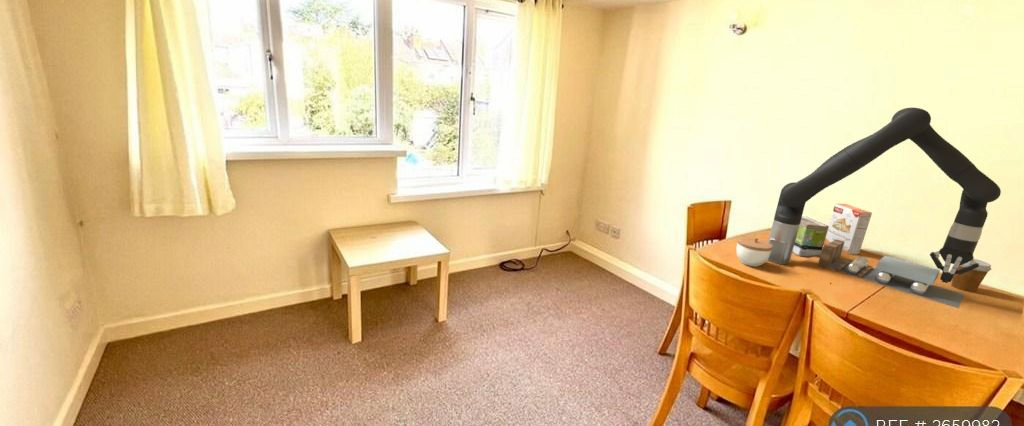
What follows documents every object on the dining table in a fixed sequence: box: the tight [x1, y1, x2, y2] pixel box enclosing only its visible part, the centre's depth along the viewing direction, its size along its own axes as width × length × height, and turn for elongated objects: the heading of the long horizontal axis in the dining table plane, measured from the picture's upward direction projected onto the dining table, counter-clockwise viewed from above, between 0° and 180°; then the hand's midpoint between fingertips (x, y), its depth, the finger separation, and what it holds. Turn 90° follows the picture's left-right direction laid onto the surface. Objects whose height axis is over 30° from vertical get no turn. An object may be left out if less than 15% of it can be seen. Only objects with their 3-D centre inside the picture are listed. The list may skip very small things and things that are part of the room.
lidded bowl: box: [735, 236, 773, 268], centre depth 172 cm, size 13×13×11 cm
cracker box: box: [823, 203, 873, 256], centre depth 193 cm, size 14×6×21 cm, turn 5°
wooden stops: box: [817, 239, 873, 279], centre depth 172 cm, size 18×14×9 cm
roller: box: [845, 256, 869, 276], centre depth 170 cm, size 16×4×4 cm, turn 129°
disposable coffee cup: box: [950, 258, 992, 293], centre depth 158 cm, size 10×10×12 cm
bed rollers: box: [875, 271, 929, 296], centre depth 160 cm, size 16×14×4 cm
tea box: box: [792, 215, 829, 258], centre depth 190 cm, size 15×10×15 cm
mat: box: [827, 258, 965, 309], centre depth 163 cm, size 18×38×1 cm, turn 39°
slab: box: [875, 255, 941, 286], centre depth 159 cm, size 12×16×3 cm
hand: (944, 282), depth 151 cm, fingers closed
